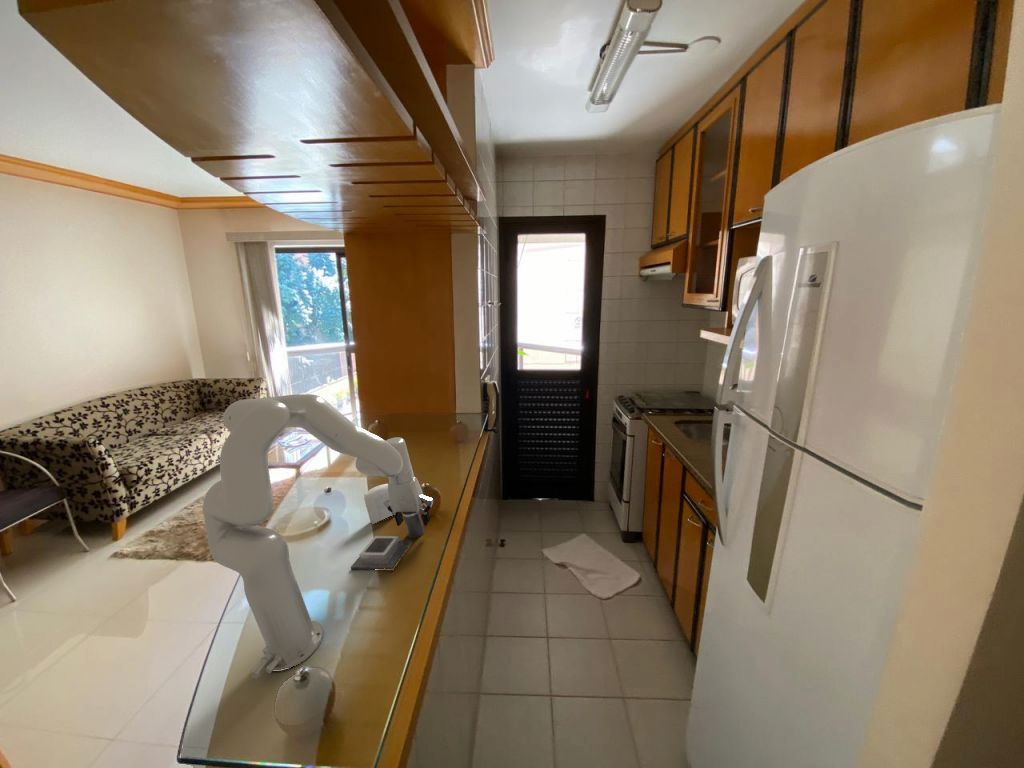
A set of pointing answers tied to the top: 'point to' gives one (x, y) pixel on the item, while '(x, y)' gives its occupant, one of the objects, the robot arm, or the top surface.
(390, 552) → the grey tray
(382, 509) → the photo printer
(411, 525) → the lens
